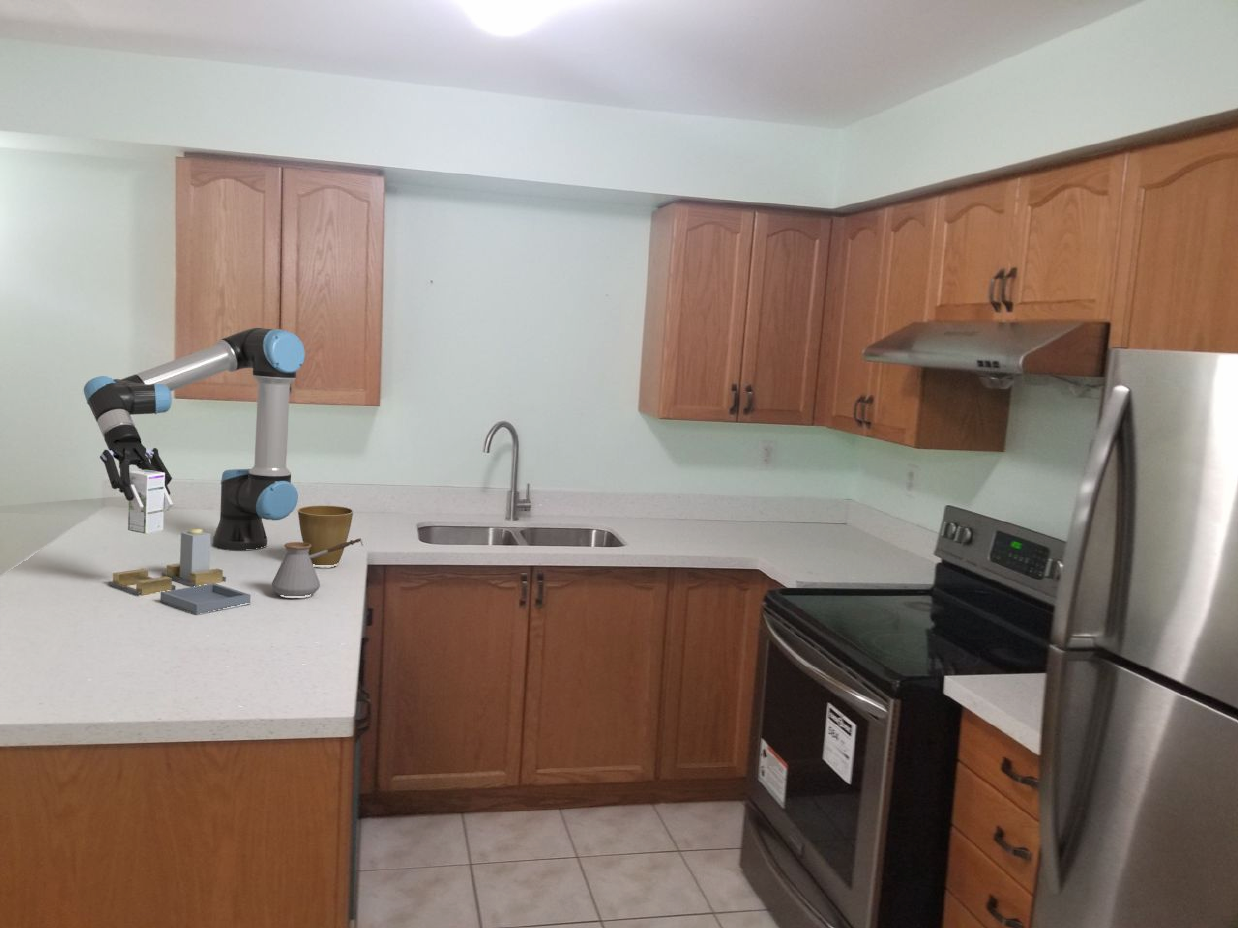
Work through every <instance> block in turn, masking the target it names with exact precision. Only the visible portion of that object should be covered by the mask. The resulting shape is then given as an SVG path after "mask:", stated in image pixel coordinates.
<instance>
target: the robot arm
mask: <svg viewBox="0 0 1238 928" xmlns="http://www.w3.org/2000/svg"><path fill="white" fill-rule="evenodd" d="M305 357H306V352H305V347H304V343H303V342H302V341H301V339H300V338H299V337H298V336H297V335H296V334H294V333H293V332H291V331H288V330H284V329H280V328H277V329H276V328H275V329H274V328H273V329H272V328H263V327H252V328H248V329H245V330H242V331H240V332H236V333H235V334H232V335H229V336H226V337H224V338H221V339H219V340H217V341H216V343H215V344H214V345H212V346H209V347H207V348H204V349H202V350H199V351H196V352H194V353H190V354H188V355H186V356H182V357H178V358H177V359H174V360H171V361H169V362H166V363H163V364H160V365H158V366H155V367H151V368H149V369H147V370H144V371H141V372H138V373H136V374H132V375H129V376H127V377H124V378H121V379H120V378H112V377H108V376H105V375H102V376H101V375H100V376H96V377H94V378H92V379H90V380H88V381H87V382H86V383H85V384H84V387H83V394H84V396H85V400H86V404H87V405H88V406H89V408H90V411H91V412H92V415H93V417H94V419H95V422H96V423H97V424H96V425H97V426H98V428H99V431H100V433H101V434H102V436H103V438H104V442H105V444H106V446H107V449H104V450H103V452H102V453H101V455H100V456H99V458H100V460H101V461H102V462H103V464H104V467H105V470H106V473H107V477H108V479H109V482H110V484H111V485H110V486H111V488H112V489H113V490H117V489H119V490H118V491H119V493H121V494H122V493H123V495H124V497H125V499H126V500H127V502H129V501H130V502H131V504H132V506H133V508H134V510H135V513H136V514H139V513H140V511H141V510H142V509H143V507H144V506H143V504H142V502H141V499H140V497H139V495H138V493H137V491H136V488H135V486H134V484H133V485H130V486H129V484H130V466H131V465H133V466H136V468H138V470H152V471H158V472H164V473H165V488H164V512H168V511H170V509H172V507H173V505H174V503H173V501H172V498H171V496H170V495H171V491H170V488H169V486H168V485H169V484H170V482H172V480H173V477H172V475H171V473H170V472H169V470H168V468H167V467H166V465H165V464H164V462H163V460H162V459H161V457H160V453H159V449H158V448H157V447H154V448H152V449H148V448H146V447H145V446H144V445H143V444H142V439H141V436H140V433H139V431H138V429H137V428H136V424H135V422H134V420H133V419H132V415H133V416H134V415H149V414H151V415H153V414H155V415H157V414H162V413H164V414H165V413H167V412H168V411H170V409H171V406H172V404H173V403H172V401H173V400H172V399H173V398H172V393H171V392H173V391H175V390H178V389H181V388H183V387H187V386H189V385H191V384H194V383H197V382H199V381H202V380H205V379H207V378H210V377H213V376H215V375H217V374H221V373H223V372H226V371H227V372H231V373H233V372H237V371H238V370H243V369H252V377H253V378H254V379H255V380H256V381H257V400H256V401H257V402H256V419H255V421H256V424H255V427H256V428H255V446H254V465H253V466H252V467H251V468H238V469H237V468H235V469H226V470H224V471H223V472H222V474H221V480H220V485H221V487H220V491H221V492H220V515H219V521H218V524H217V527H216V530H215V532H214V535H213V537H212V546H213V547H214V548H216V547H217V549H220V548H221V549H220V550H226V549H229V550H228V551H247V550H246V549H255V550H257V549H256V548H261V547H264V546H266V545H267V546H268V537H267V532H266V530H265V526H264V522H263V520H268V521H281V520H283V519H286V518H287V517H289V516H290V514H291V513H292V512H293V511H294V510H295V509H296V507H297V505H298V501H299V493H298V489H297V487H295V486H294V484H292V471H290V470H289V469H288V468H287V455H288V454H287V452H288V450H287V449H288V431H289V413H290V411H289V410H290V389H291V384H292V382H294V381H295V380H296V378H297V371H298V370H300V368H301V366H303V365H304V362H305ZM115 460H117V461H118V466H117V464H116V461H115ZM117 467H118V468H119V470H118V468H117ZM267 546H266V547H267ZM264 548H265V547H264ZM261 549H262V548H261Z"/></svg>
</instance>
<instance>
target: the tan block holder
mask: <svg viewBox="0 0 1238 928" xmlns="http://www.w3.org/2000/svg"><path fill="white" fill-rule="evenodd" d="M133 585H136V588H134V587H131V586H133ZM108 586H109V587H112V588H115V589H117V590H121V591H122V590H123V592H125V591H126V593H128V592H129V593H128V594H131V593H132V594H131V595H134V596H136V595H137V596H138V597H140V596H139V595H141V596H146V595H145V594H147V595H151V594H150V593H153V594H157V593H156V592H159V593H161V592H160V591H167V590H176V586H177V585H175V584H173V581H172V578H170V577H163V576H159V577H150V576H149V570H147V569H144V568H138V569H132V570H131V569H130V570H125V571H117V572H113V573H112V580H110V581H109V582H108ZM137 596H136V597H137Z"/></svg>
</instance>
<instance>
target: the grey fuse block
mask: <svg viewBox="0 0 1238 928" xmlns="http://www.w3.org/2000/svg"><path fill="white" fill-rule="evenodd" d="M211 535H212V534H211V533H208V532H205V531H203V528H198V527H197V528H196V527H195V528H194V527H192V528H189V531H185V532H184V531H183V532H180V549H179V551H180V556H179V563H180V578H183V579H187V580H190V573H192V572H198V571H205V570H210V566H211V565H210V562H211V561H210V560H211Z"/></svg>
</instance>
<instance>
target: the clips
mask: <svg viewBox="0 0 1238 928" xmlns="http://www.w3.org/2000/svg"><path fill="white" fill-rule="evenodd" d="M223 572H224V570H223V569H219V568H212V569H211V568H210V569H209V570H205V571H198V572H192V573H190V580H187V579H183V578H180V562H179V563H174V564H173V563H172V564H167V565H166V572H164V573H162V577H170V578H172V582H175V583H178V584H182V585H184V586H188V587H190V586H191V587H194V586H199V585H204V584H209V583H212V584H213V583H214V582H218V583H221V582H220V581H224V582H226V581H227V577H226V576H224V575H223V574H224V573H223ZM225 580H226V581H225Z"/></svg>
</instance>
